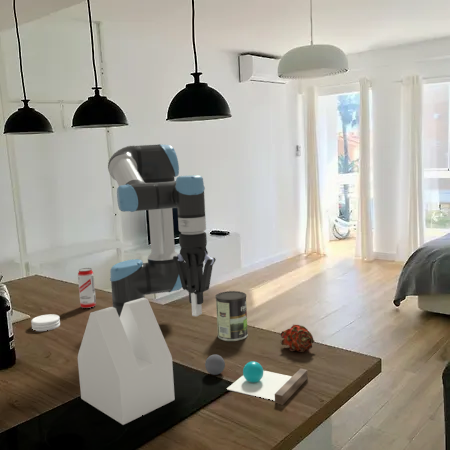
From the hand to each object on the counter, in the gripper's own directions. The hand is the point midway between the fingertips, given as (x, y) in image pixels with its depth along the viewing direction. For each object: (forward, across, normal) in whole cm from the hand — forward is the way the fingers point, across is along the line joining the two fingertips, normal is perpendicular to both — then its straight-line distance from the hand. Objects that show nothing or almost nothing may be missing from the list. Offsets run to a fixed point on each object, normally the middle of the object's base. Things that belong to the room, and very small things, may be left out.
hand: (197, 314), depth 142 cm
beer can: (+17, -76, +30) cm, 83 cm away
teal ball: (+14, +17, 0) cm, 22 cm away
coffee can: (+17, -5, +27) cm, 32 cm away
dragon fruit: (+17, +19, +25) cm, 36 cm away
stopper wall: (+16, +28, 0) cm, 33 cm away
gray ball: (+14, +6, 0) cm, 15 cm away
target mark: (+16, +20, 0) cm, 26 cm away
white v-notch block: (+17, -7, -23) cm, 29 cm away
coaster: (+17, -73, +6) cm, 75 cm away
